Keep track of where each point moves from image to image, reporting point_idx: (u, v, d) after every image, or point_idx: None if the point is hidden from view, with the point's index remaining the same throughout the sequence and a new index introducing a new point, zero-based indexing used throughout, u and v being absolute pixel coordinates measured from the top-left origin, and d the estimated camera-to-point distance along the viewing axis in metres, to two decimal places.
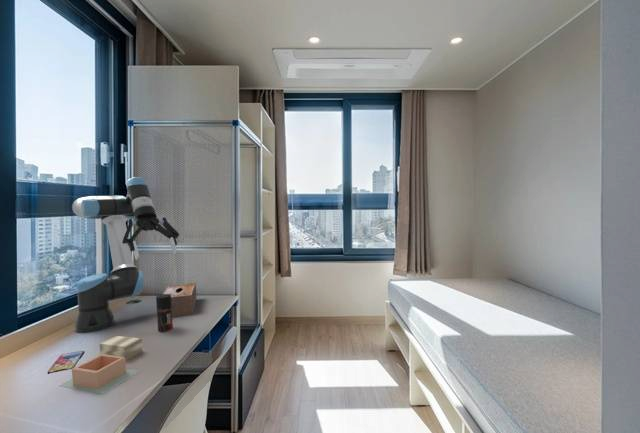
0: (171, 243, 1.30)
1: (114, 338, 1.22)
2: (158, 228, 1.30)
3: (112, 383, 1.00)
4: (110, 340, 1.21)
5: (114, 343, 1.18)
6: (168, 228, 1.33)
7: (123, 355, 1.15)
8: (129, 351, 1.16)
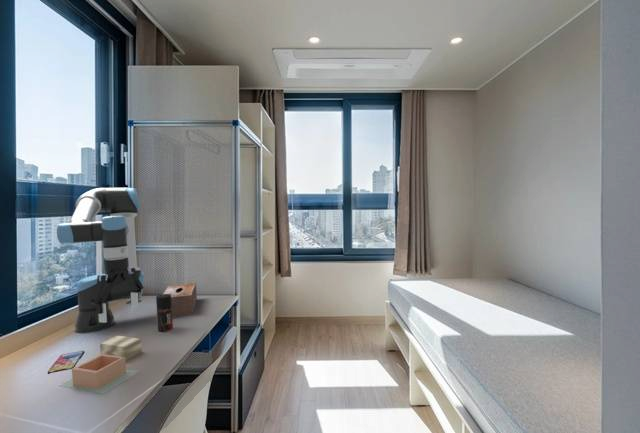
0: (133, 298, 1.25)
1: (115, 338, 1.23)
2: (126, 281, 1.22)
3: (112, 383, 1.00)
4: (110, 340, 1.21)
5: (114, 343, 1.18)
6: (134, 279, 1.26)
7: (122, 355, 1.15)
8: (129, 351, 1.16)
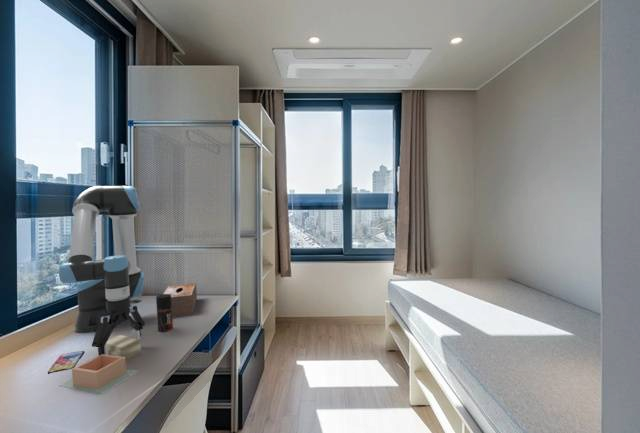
0: (135, 336, 1.26)
1: (116, 337, 1.23)
2: (128, 320, 1.22)
3: (112, 383, 1.00)
4: (112, 339, 1.21)
5: (114, 342, 1.18)
6: (136, 317, 1.26)
7: (120, 356, 1.15)
8: (126, 352, 1.16)
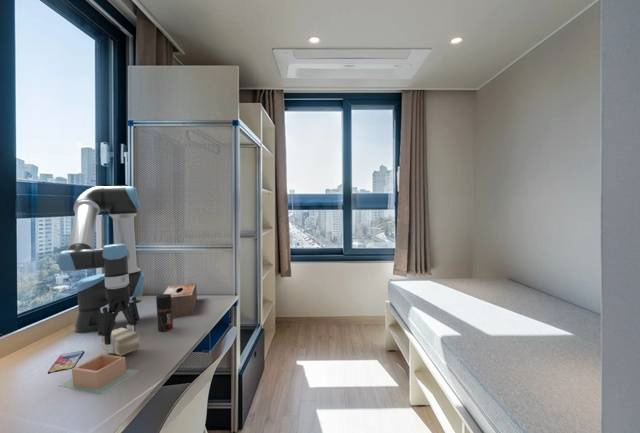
0: None
1: (117, 330, 1.23)
2: (125, 311, 1.21)
3: (112, 383, 1.00)
4: (112, 331, 1.22)
5: None
6: (132, 309, 1.25)
7: (117, 348, 1.14)
8: (124, 345, 1.15)
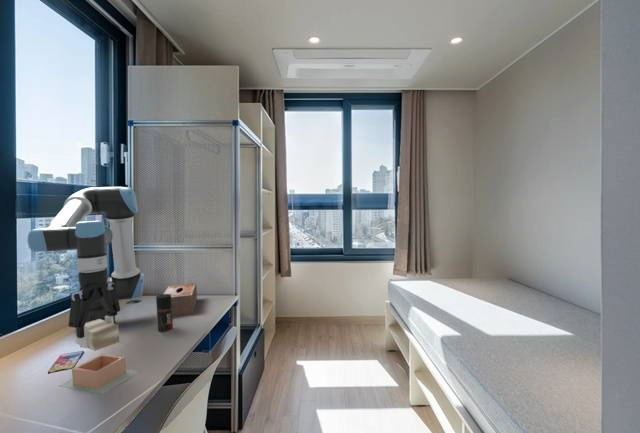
0: None
1: (94, 321, 1.06)
2: (102, 299, 1.04)
3: (112, 383, 1.00)
4: (88, 323, 1.04)
5: (88, 327, 1.01)
6: (112, 298, 1.08)
7: (92, 342, 0.97)
8: (99, 338, 0.98)
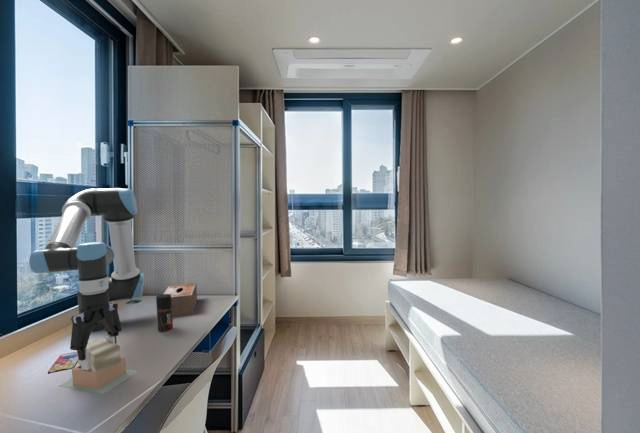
0: None
1: (95, 341, 1.06)
2: (104, 320, 1.04)
3: (112, 383, 1.00)
4: (89, 343, 1.05)
5: (89, 348, 1.02)
6: (113, 318, 1.08)
7: (93, 364, 0.97)
8: (101, 360, 0.98)
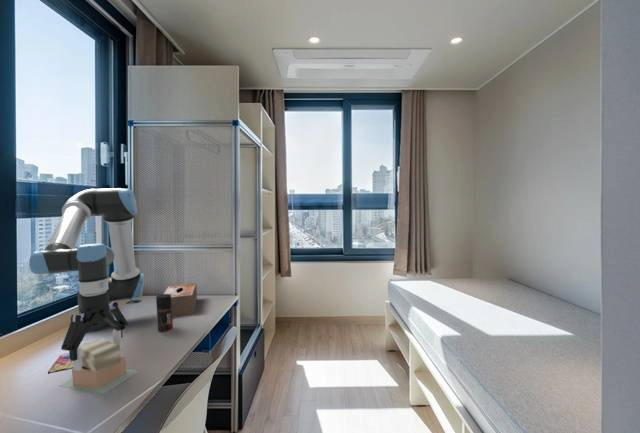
0: (116, 337, 1.09)
1: (95, 341, 1.06)
2: (106, 319, 1.05)
3: (112, 383, 1.00)
4: (89, 343, 1.05)
5: (89, 348, 1.02)
6: (116, 315, 1.09)
7: (93, 364, 0.97)
8: (101, 360, 0.98)
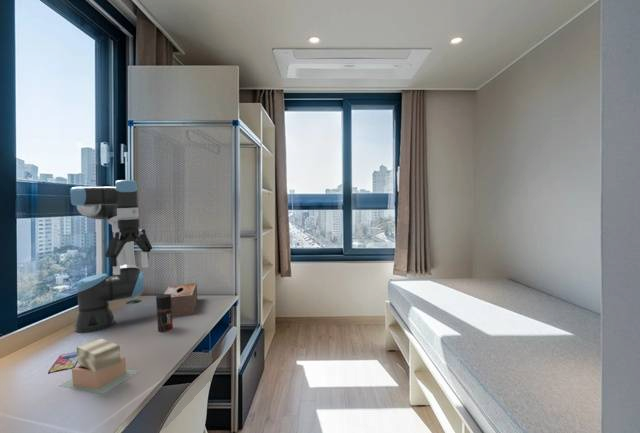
0: (143, 257, 1.38)
1: (95, 341, 1.06)
2: (137, 241, 1.34)
3: (112, 383, 1.00)
4: (89, 343, 1.05)
5: (89, 348, 1.02)
6: (144, 240, 1.38)
7: (93, 364, 0.97)
8: (101, 360, 0.98)
